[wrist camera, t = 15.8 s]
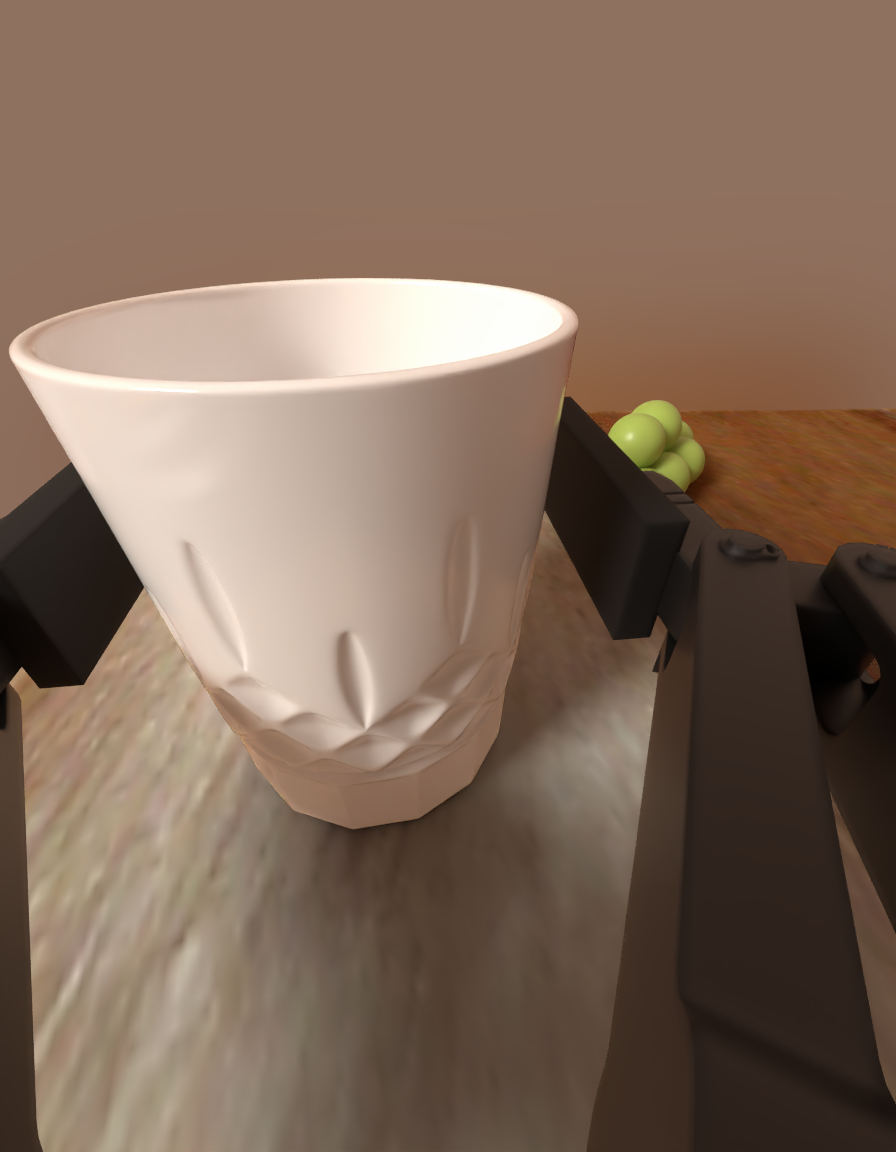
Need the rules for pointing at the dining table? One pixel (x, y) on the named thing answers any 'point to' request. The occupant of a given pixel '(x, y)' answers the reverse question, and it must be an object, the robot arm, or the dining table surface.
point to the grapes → (660, 442)
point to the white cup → (325, 508)
